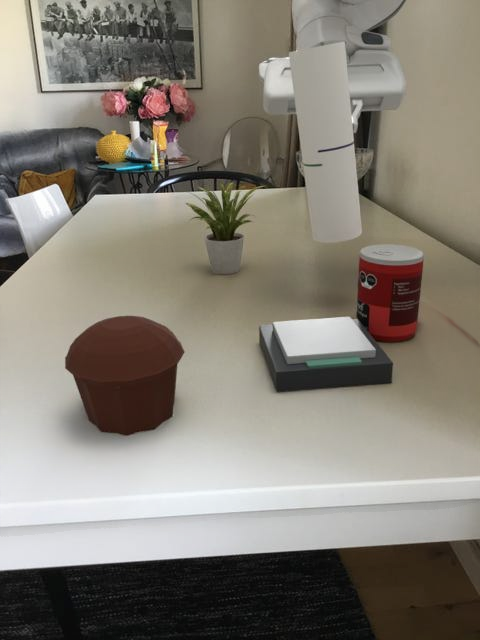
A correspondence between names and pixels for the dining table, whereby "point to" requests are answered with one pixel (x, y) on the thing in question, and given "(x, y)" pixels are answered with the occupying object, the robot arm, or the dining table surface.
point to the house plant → (223, 229)
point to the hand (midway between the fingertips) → (339, 130)
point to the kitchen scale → (322, 354)
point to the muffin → (126, 373)
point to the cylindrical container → (327, 141)
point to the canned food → (389, 291)
